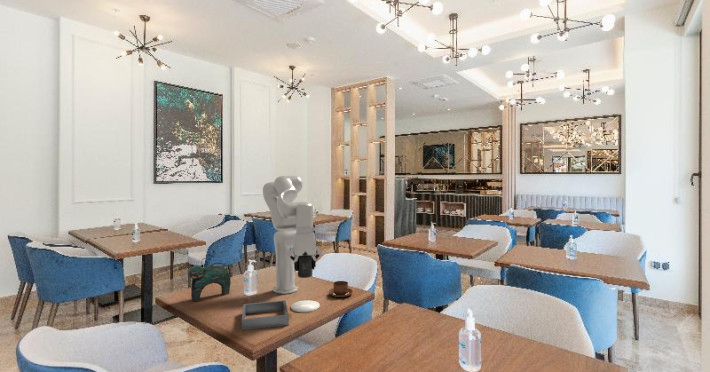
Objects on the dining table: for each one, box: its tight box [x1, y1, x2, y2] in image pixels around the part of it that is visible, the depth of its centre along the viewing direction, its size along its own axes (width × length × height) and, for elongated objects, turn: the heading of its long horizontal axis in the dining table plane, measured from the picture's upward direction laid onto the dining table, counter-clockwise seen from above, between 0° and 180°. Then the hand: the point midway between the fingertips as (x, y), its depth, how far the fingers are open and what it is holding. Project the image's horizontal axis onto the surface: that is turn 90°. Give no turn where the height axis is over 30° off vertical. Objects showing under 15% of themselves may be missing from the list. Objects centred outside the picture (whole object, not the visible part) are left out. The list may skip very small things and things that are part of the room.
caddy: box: [241, 299, 290, 331], centre depth 151 cm, size 18×18×4 cm
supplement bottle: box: [297, 251, 314, 279], centre depth 164 cm, size 7×7×12 cm
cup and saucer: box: [328, 280, 354, 298], centre depth 181 cm, size 12×12×6 cm
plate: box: [290, 299, 321, 314], centre depth 164 cm, size 13×13×1 cm
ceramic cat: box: [187, 257, 231, 302], centre depth 179 cm, size 20×6×20 cm, turn 129°
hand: (304, 269), depth 164 cm, fingers closed on supplement bottle, 6 cm apart
